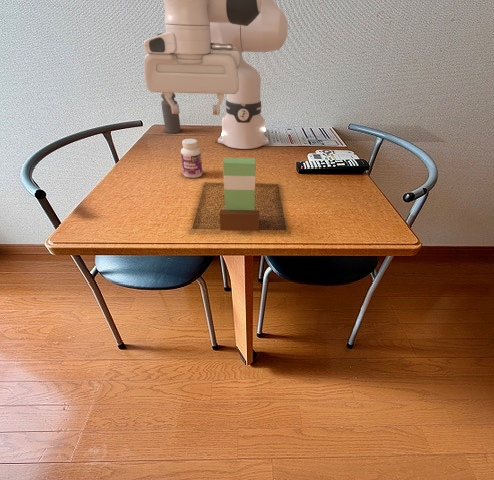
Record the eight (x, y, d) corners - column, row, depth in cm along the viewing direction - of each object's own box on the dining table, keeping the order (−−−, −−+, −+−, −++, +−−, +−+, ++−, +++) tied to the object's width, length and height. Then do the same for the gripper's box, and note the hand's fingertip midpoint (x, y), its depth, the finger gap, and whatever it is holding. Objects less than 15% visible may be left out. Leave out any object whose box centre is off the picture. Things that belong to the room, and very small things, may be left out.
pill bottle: (184, 179, 79) (179, 144, 74) (182, 171, 84) (178, 138, 78) (203, 177, 81) (200, 143, 75) (201, 170, 85) (198, 137, 79)
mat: (204, 184, 78) (203, 168, 75) (278, 185, 78) (279, 169, 75) (191, 232, 60) (189, 213, 57) (286, 233, 61) (289, 214, 58)
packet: (226, 219, 63) (223, 157, 55) (253, 219, 63) (255, 158, 55) (225, 225, 61) (222, 162, 53) (253, 226, 61) (255, 163, 53)
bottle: (181, 132, 112) (175, 90, 103) (165, 133, 111) (159, 90, 101) (180, 128, 116) (175, 87, 107) (165, 129, 115) (158, 87, 106)
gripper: (240, 42, 62) (240, 111, 70) (143, 39, 61) (156, 109, 69) (240, 45, 57) (240, 118, 65) (134, 42, 56) (149, 116, 64)
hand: (196, 113), depth 67 cm, fingers open, 8 cm apart
